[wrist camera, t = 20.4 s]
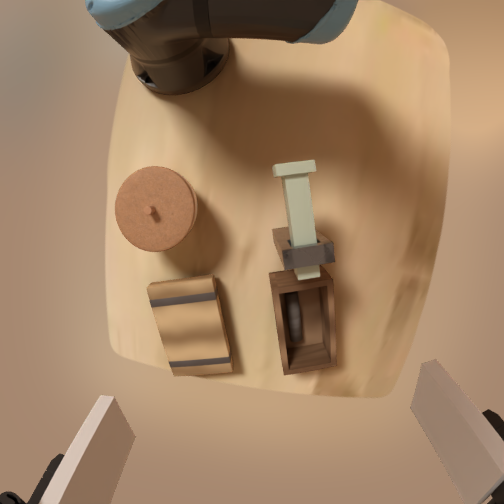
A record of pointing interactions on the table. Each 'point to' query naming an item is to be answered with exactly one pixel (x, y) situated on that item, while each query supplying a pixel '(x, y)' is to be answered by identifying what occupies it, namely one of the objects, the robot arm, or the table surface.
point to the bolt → (299, 208)
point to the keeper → (302, 250)
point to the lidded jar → (156, 208)
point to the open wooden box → (304, 320)
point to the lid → (191, 325)
